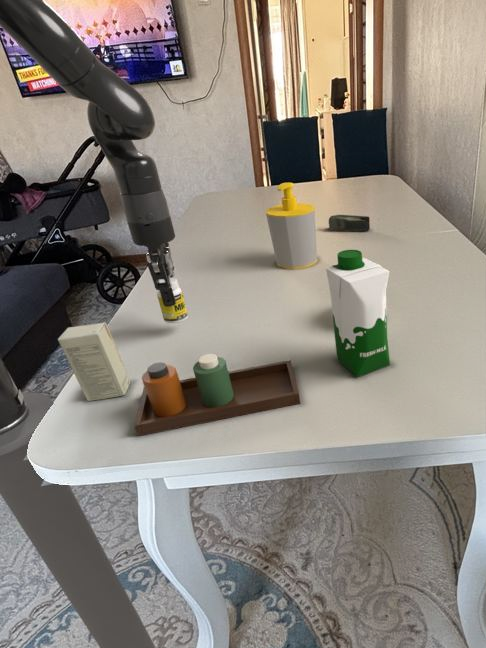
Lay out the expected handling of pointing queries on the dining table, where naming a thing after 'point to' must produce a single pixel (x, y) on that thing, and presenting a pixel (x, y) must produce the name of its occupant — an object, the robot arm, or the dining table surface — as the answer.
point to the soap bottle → (292, 231)
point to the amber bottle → (164, 389)
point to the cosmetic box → (95, 361)
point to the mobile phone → (349, 223)
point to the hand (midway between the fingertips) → (171, 299)
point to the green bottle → (213, 380)
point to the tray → (249, 397)
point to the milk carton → (359, 312)
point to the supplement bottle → (179, 309)
